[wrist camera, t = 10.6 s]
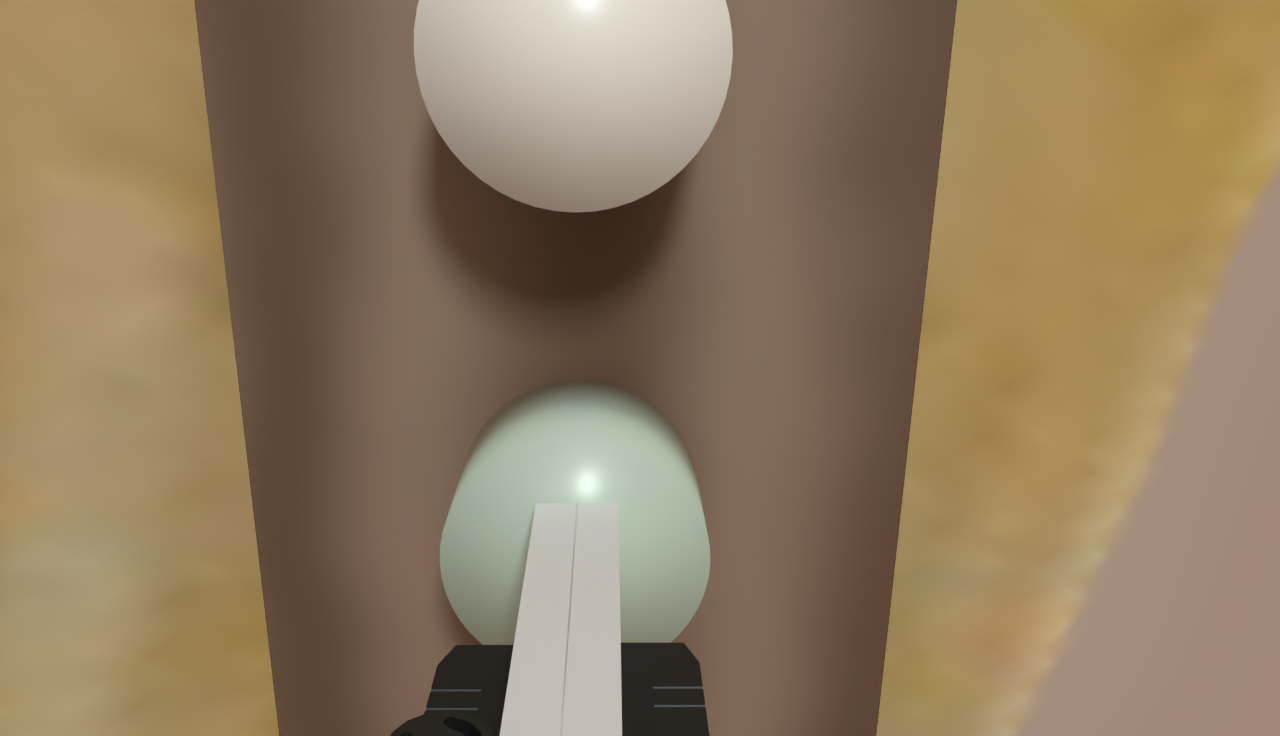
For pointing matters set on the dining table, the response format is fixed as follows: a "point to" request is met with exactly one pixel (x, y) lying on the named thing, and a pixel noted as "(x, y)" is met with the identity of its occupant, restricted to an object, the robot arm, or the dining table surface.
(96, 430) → the dining table surface
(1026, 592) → the dining table surface
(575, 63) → the cream button
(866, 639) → the button board
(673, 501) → the sage button
